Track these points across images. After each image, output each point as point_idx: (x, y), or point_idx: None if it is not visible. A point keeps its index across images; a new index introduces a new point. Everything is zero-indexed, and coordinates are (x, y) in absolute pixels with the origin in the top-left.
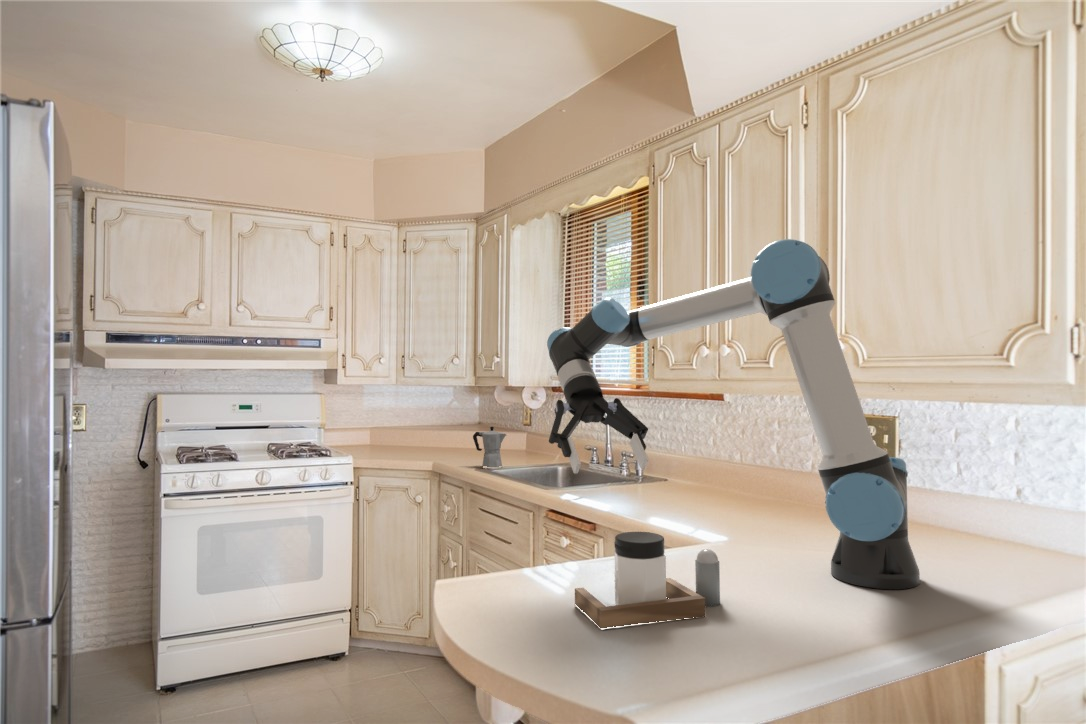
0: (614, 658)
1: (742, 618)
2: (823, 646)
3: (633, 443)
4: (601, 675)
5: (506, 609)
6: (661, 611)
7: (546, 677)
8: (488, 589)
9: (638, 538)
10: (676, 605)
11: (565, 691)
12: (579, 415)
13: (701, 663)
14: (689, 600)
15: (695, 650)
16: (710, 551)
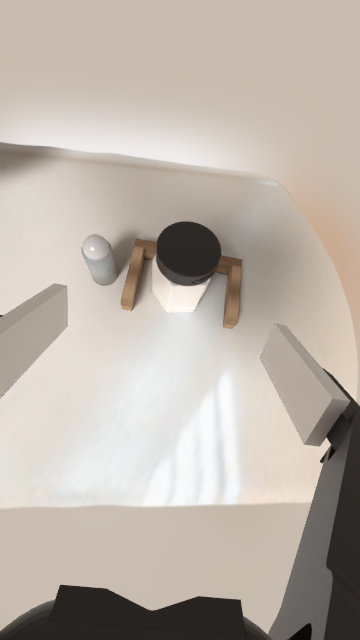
0: (249, 228)
1: (110, 233)
2: (105, 174)
3: (12, 358)
4: (268, 215)
5: None
6: None
7: (300, 228)
8: None
9: (195, 241)
10: None
11: (295, 210)
12: (342, 580)
13: (201, 197)
14: (153, 242)
15: (191, 211)
16: (94, 235)
